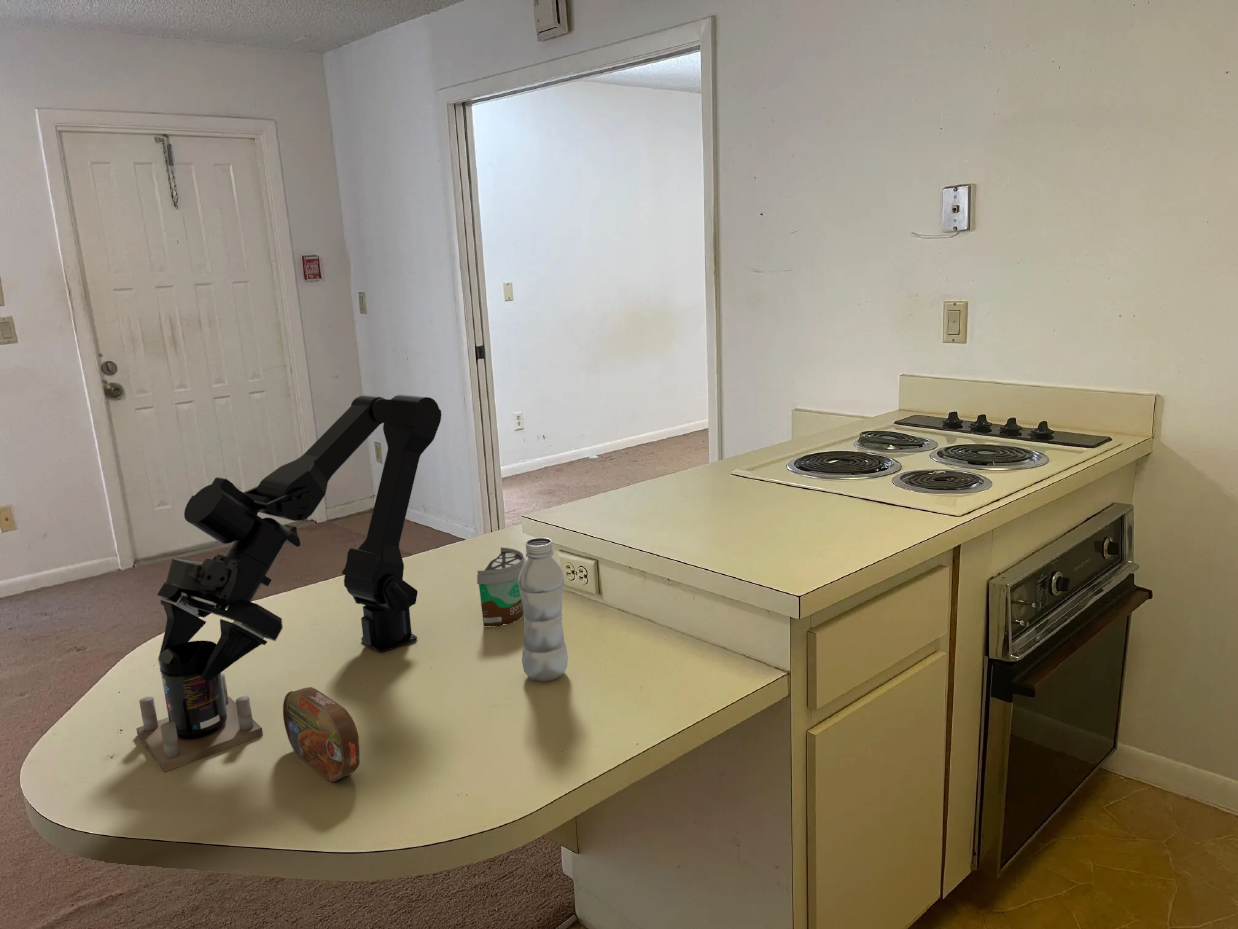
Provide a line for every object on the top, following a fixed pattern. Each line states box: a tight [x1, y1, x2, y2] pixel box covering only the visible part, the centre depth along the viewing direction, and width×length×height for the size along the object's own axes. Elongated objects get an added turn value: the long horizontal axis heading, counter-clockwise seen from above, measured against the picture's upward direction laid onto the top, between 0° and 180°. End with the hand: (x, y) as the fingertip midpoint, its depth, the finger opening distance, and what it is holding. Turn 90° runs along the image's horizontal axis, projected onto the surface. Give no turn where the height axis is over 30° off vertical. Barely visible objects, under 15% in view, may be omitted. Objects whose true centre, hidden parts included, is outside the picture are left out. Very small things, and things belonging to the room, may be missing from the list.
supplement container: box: [157, 640, 227, 739], centre depth 112 cm, size 7×7×10 cm
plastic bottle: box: [518, 537, 569, 682], centre depth 124 cm, size 6×7×20 cm
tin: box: [282, 686, 361, 782], centre depth 105 cm, size 15×3×8 cm, turn 44°
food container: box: [476, 546, 527, 628], centre depth 146 cm, size 12×6×10 cm, turn 168°
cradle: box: [135, 672, 264, 773], centre depth 113 cm, size 12×12×5 cm
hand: (182, 671), depth 110 cm, fingers open, 9 cm apart
